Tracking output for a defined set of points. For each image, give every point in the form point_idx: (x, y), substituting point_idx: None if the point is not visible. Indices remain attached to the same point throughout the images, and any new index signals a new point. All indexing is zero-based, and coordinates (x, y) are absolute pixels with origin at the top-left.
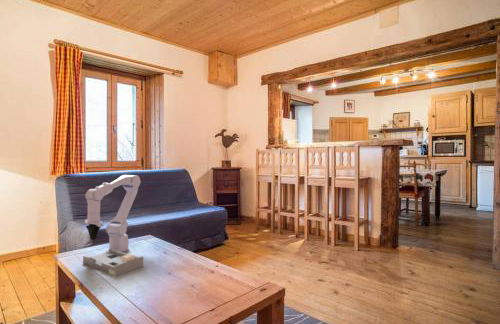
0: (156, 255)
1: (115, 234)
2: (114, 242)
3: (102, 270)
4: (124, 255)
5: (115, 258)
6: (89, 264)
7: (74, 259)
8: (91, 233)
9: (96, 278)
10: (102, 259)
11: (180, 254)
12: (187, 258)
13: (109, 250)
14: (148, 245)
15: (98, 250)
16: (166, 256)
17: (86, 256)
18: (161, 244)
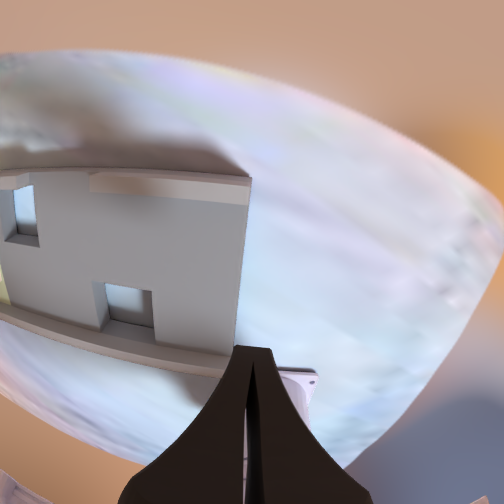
0: (73, 395)
1: (243, 477)
2: (244, 428)
3: (38, 168)
4: (65, 330)
5: (78, 292)
6: (159, 170)
7: (386, 204)
8: (203, 407)
9: (3, 107)
10: (116, 245)
11: (44, 409)
12: (8, 385)
13: (218, 363)
14: None
15: (376, 364)
16: (47, 392)
17: (208, 192)
18: None
